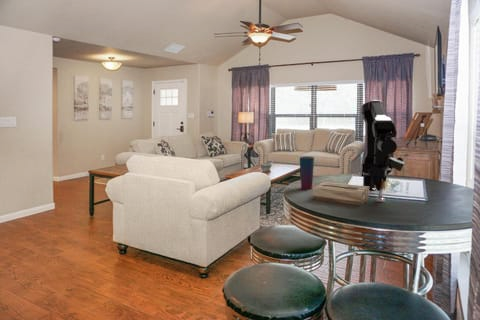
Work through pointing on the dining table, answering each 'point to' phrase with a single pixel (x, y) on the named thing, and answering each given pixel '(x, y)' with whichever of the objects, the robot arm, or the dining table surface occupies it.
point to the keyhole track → (341, 193)
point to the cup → (306, 172)
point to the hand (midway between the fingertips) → (380, 189)
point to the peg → (381, 192)
